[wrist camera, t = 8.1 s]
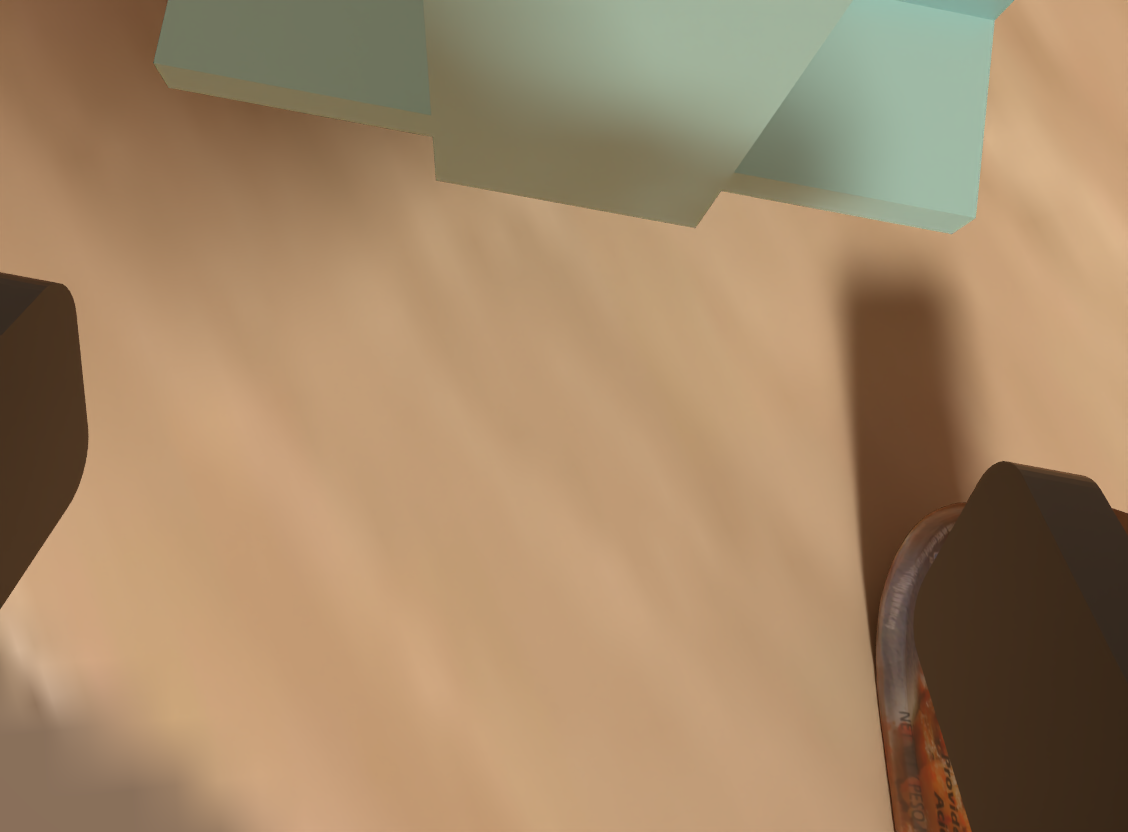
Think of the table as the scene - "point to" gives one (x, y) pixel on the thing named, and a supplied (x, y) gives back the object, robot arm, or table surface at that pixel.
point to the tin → (916, 690)
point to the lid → (632, 94)
